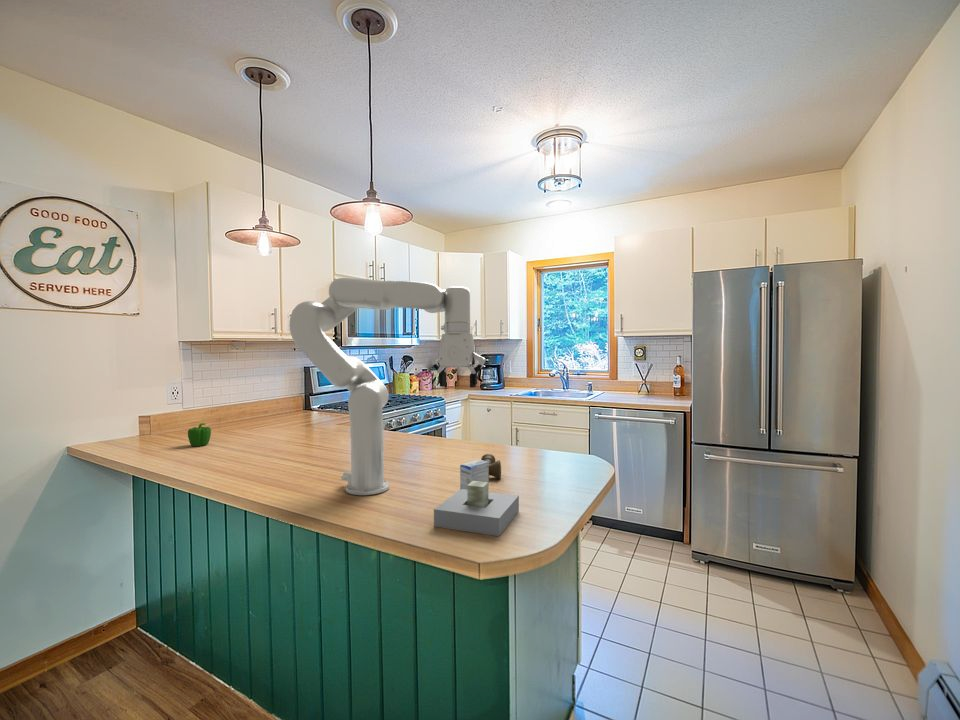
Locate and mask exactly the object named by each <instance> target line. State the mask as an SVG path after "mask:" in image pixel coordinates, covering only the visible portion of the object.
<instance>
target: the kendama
mask: <svg viewBox="0 0 960 720" xmlns="http://www.w3.org/2000/svg"><path fill="white" fill-rule="evenodd" d="M495 457H496V456H494V455H493V454H491V453H486V454H485V453H484V455H482V456H481V459H480V460H483V461H487V462H489V476H492V477H494V478H495V479H497V478H498V479H497V480H501V479H502V463H501V460H499V459H498V460H496V458H495Z"/></svg>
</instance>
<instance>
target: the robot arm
mask: <svg viewBox="0 0 960 720" xmlns="http://www.w3.org/2000/svg"><path fill="white" fill-rule="evenodd" d="M396 308H397V309H398V308H399V309H400V308H401V309H403V308H404V309H413V310H414V309H417V310H424V312H427V313H430V314H437V313H443V312H444V323H443V325H441V326H440V330H441V331H443V332H444V333H442V334H441V336H440V337H441V338H440V344H439V353H438V354H436V355H435V356H434V357H431V358H430V362H431V364H432V365H433V368H434V369H435V371H436V372H437V373H438V384H439V387H440V388H443V387H446V386H447V373H446V371H447V370H448V368H468V370H469V371H470V374H469V387H470V388H476V387H477V384H478V374H479V372H480V371H481V370H482V369H483V367H484V365H485V362H486V361H487V360H486V358H485V357H483V356H481V355H479V354H477V353H476V349H475V341H474V336H473V333H471V292H470V289H469V288H468V287H465V286H449V287H447V288H445V289H441V288H440V287H439V286H438V285H437V284H433V283H430V282H423V281H421V282H420V281H419V282H418V281H409V280H405V281H403V280H396V281H395V280H379V279H378V280H377V279H376V280H375V279H366V278H364V279H363V278H352V277H338V278H336V279H334V280H333V281H332V282H331V283H330V284H329V286H328V298H325V300H323V302H317V301H313V300H312V301H311V300H307V301H302V302H299V303H298V304H297V305H296V306H295V307H294V308H293V310H292V311H291V314H290V316H289V325H288V326H289V332H290V336H291V338H292V340H293V342H294V344H295V345H296V347H297V348H298V349H299V350H300V351H301V352H302V353H303V354H304V355H305V357H307V359H308V360H309V361H310V362H311V363H312V364H313V366H315V368H317V369H318V371H320V373H321V374H322V375H323V377H325V379H327V380H328V381H329V383H331V385H332V386H334V387H336V388H339V389H342V388H343V389H344V388H345V389H346V390H347V391H348V392H349V395H348V400H347V401H348V402H347V406H348V407H347V408H348V414H349V428H350V433H349V434H350V436H349V437H350V472H349V471H344V472H343V474H342V476H341V481H347V485H345V491H346V493H348V494H349V495H353V496H371V495H377V494H380V493H384V492H386V491H388V489H389V488H390V482H389V481H387V480H385V449H384V448H385V443H384V439H385V438H384V433H385V432H384V417H383V408H384V407H385V406H386V405H387V403H388V402H389V398H390V394H389V391H388V390H389V389H388V388H387V387H386V385H385V384H384V382H383V381H381V380H380V379H379V377H378V376H377V375H376V374H375V373H374V372H373V371H372V370H371V369H370V368H369V367H368V366H367V364H366V363H365V362H364V361H362V360H361V359H359V358H358V357H356V356H352V355H347V354H346V353H345V352H343V350H341V349H340V347H339V346H338V345H337V344H336V343H335V342H334V340H332V339H331V338H330V337H329V336H328V335H326V334H325V332H328V331H331V330H333V329H334V328H335V327H337V326H338V325H339V324H341V323H342V322H343V321H344V320H346V319H347V318H349V316H351V315H352V314H353V313H354V312H356V310H358V309H368V310H369V309H370V310H381V311H385V310H390V309H396ZM476 360H477V361H478V364H477V365H476Z"/></svg>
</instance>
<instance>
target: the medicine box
mask: <svg viewBox="0 0 960 720" xmlns="http://www.w3.org/2000/svg"><path fill="white" fill-rule="evenodd" d="M459 470H460V471H459V476H460V478H459V483H460V485H459V487H460V488H459V490H460V489H466V490H467V485H468V484H470V483H471V482H472V481H481V482H488V491H489V490H490V489H489V488H490V487H489V485H490V484H489V483H490V482H489V478H490V477H489V476H490V475H489V462H487V461H483V460H481V459H474V460H471V461H468V462H465V463H461V464H460V467H459Z"/></svg>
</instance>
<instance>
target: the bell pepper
mask: <svg viewBox="0 0 960 720" xmlns="http://www.w3.org/2000/svg"><path fill="white" fill-rule="evenodd" d="M211 435H212V429H211V427H209V426H206V423H205V422H201V423H199V424H198V425H197V427H196V426H195V427H192V428H189V429H188V431H187V438H188V441H189V444H190V446H192V447H202V446H203V447H204V446H208V445H209V442H210V439H211Z"/></svg>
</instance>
